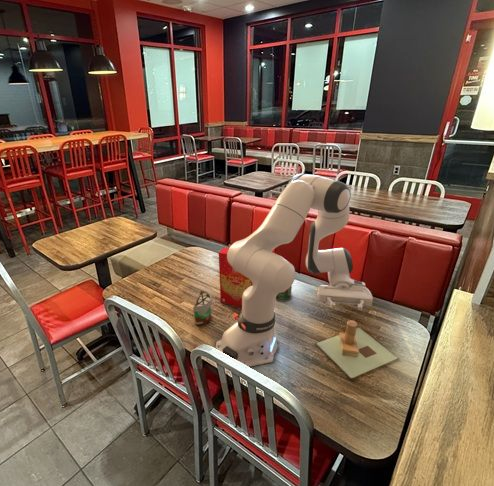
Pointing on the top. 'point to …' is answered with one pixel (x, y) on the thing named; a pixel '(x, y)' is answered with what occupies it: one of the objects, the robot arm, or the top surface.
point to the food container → (203, 308)
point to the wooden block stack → (349, 340)
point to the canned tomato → (284, 295)
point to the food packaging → (231, 281)
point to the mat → (367, 358)
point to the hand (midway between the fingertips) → (346, 307)
